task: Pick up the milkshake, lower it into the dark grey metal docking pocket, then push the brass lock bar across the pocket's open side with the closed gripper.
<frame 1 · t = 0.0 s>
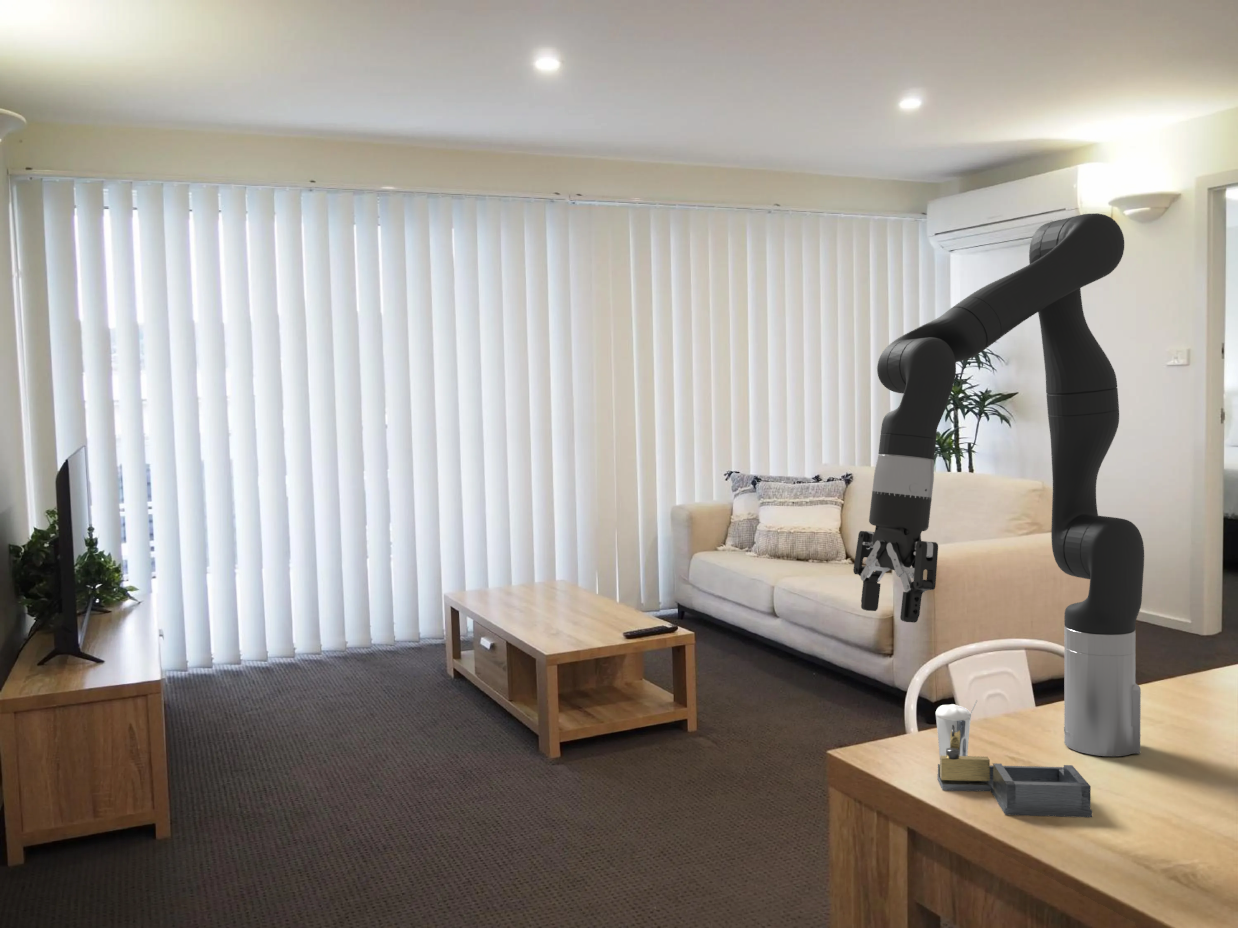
hand: (888, 615, 135), 22 cm above the table, tool pointing down, fingers open, 8 cm apart
dock: (1038, 801, 129), on the table
milkshake: (956, 773, 140), on the table
lock bar: (964, 764, 135), point 3 cm above the table, slide at 0.0 cm
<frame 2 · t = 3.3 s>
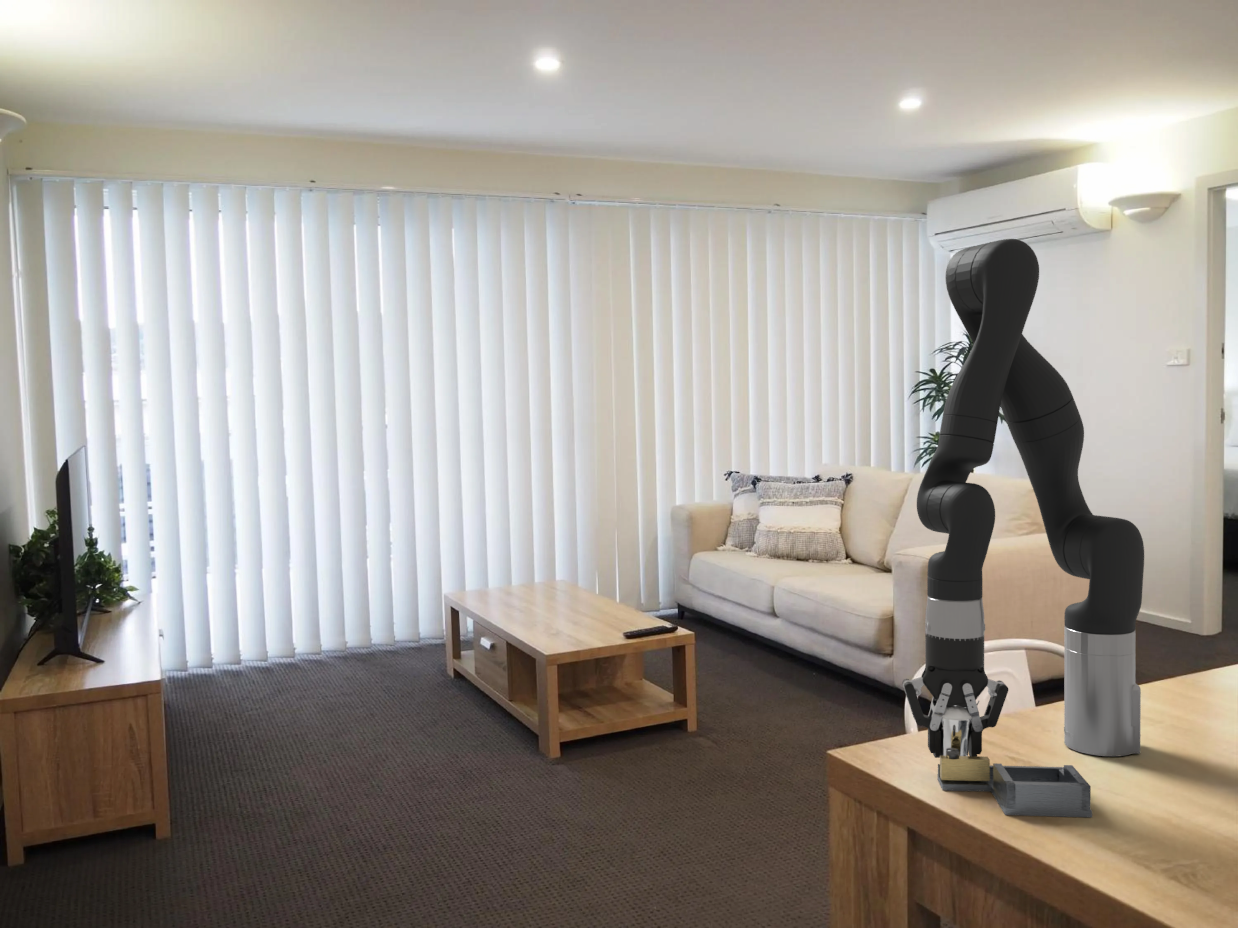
hand: (954, 755, 140), 2 cm above the table, tool pointing down, fingers closed on milkshake, 4 cm apart
milkshake: (956, 773, 140), on the table, touching gripper
everything else where it was.
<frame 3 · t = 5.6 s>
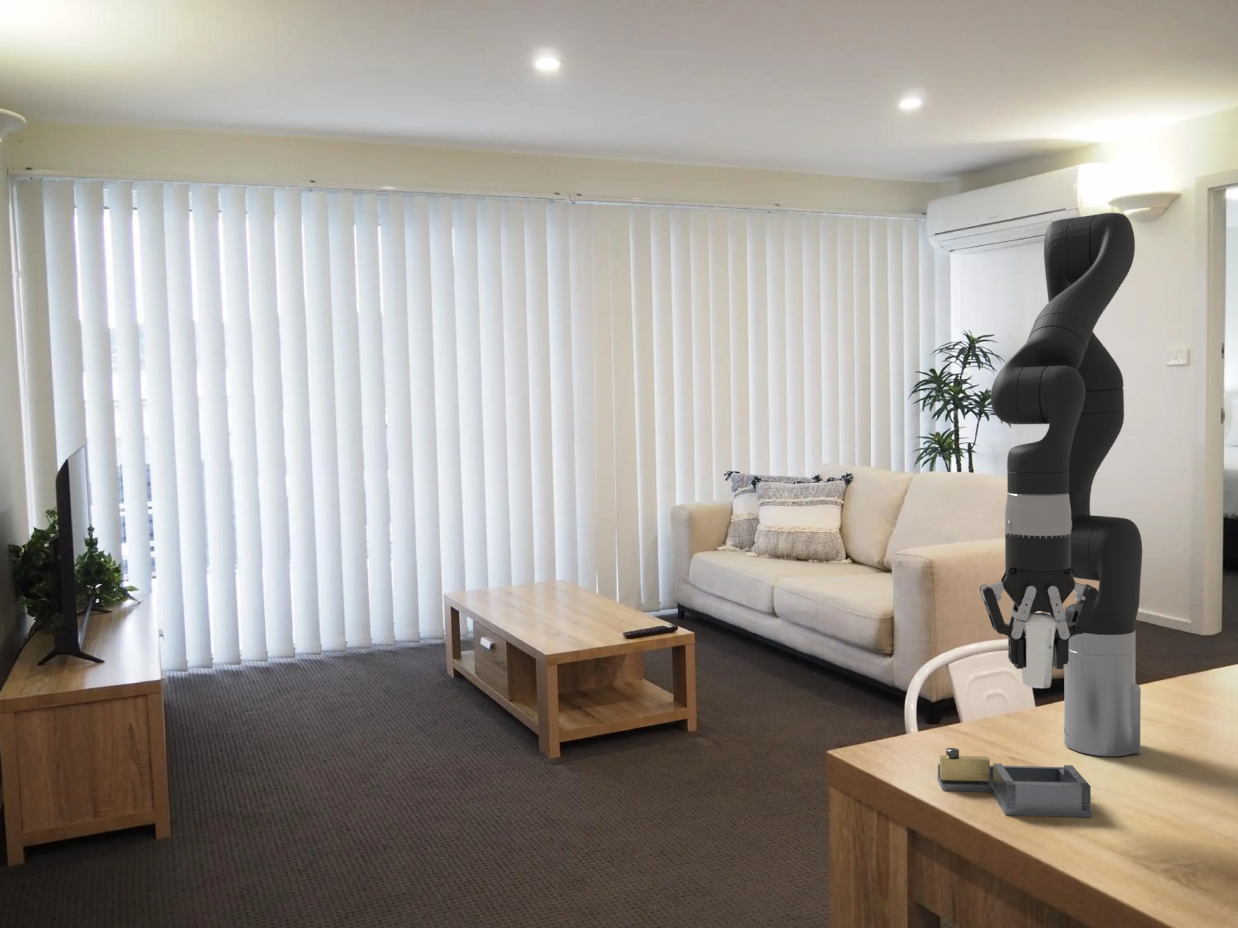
hand: (1037, 666, 129), 17 cm above the table, tool pointing down, fingers closed on milkshake, 4 cm apart
milkshake: (1040, 686, 129), point 14 cm above the table, touching gripper
everything else where it was.
when the fingers open (4 cm above the table, at t = 7.8 s): milkshake drops 1 cm, resting on dock.
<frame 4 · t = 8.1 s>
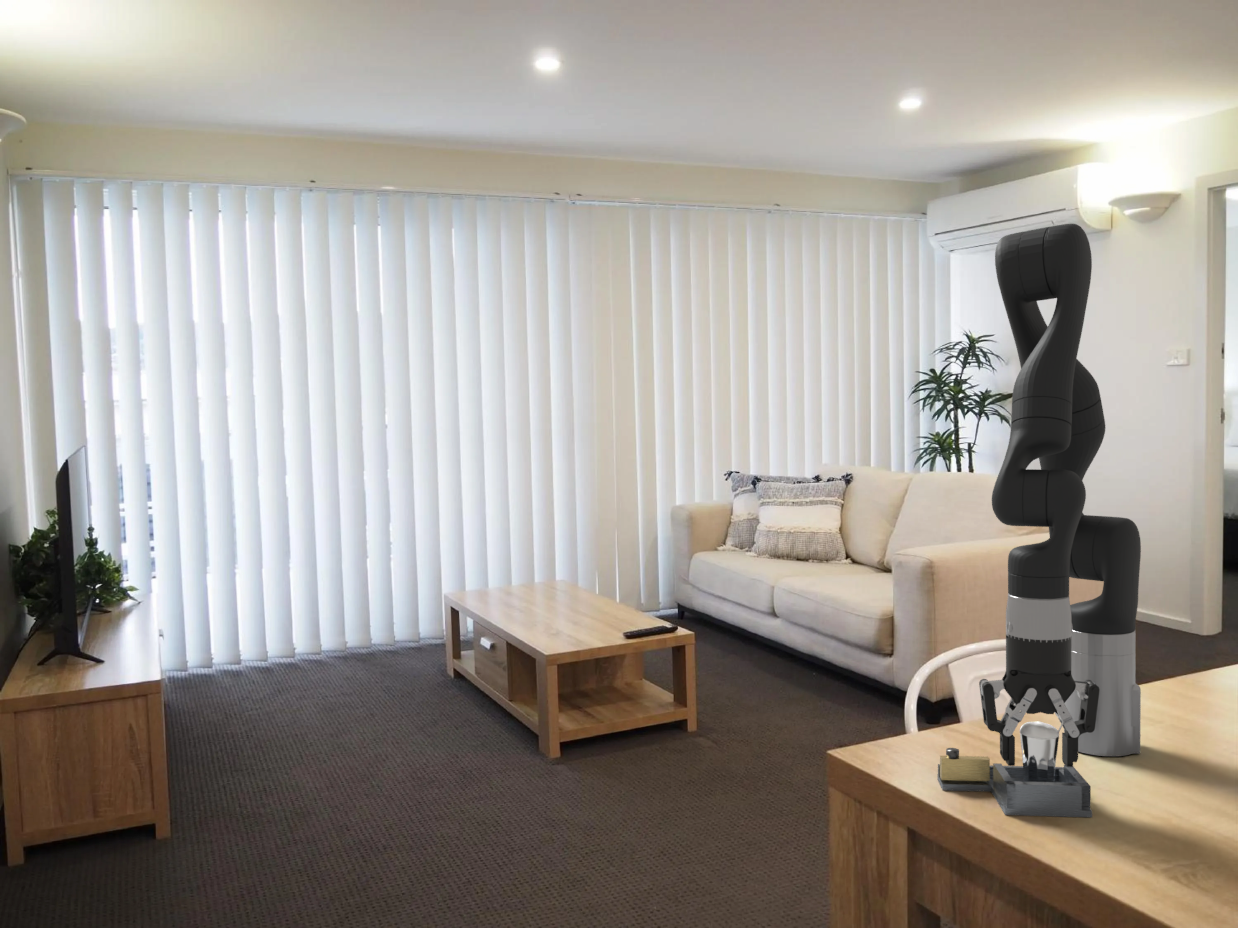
hand: (1038, 763, 129), 5 cm above the table, tool pointing down, fingers open, 6 cm apart
milkshake: (1042, 796, 129), point 1 cm above the table, touching dock
everything else where it was.
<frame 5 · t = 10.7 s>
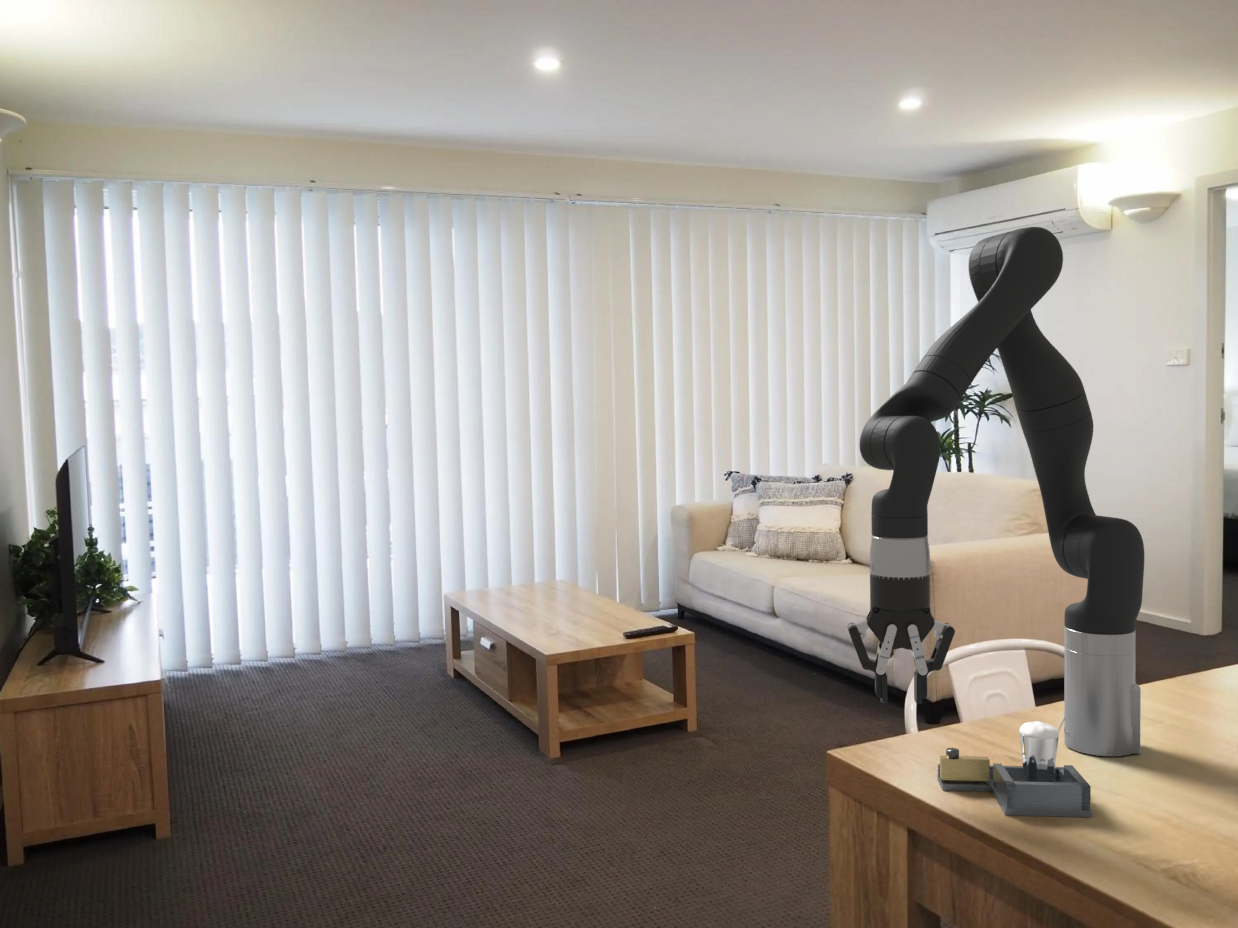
hand: (900, 700, 135), 11 cm above the table, tool pointing down, fingers open, 3 cm apart
nothing on the table moved.
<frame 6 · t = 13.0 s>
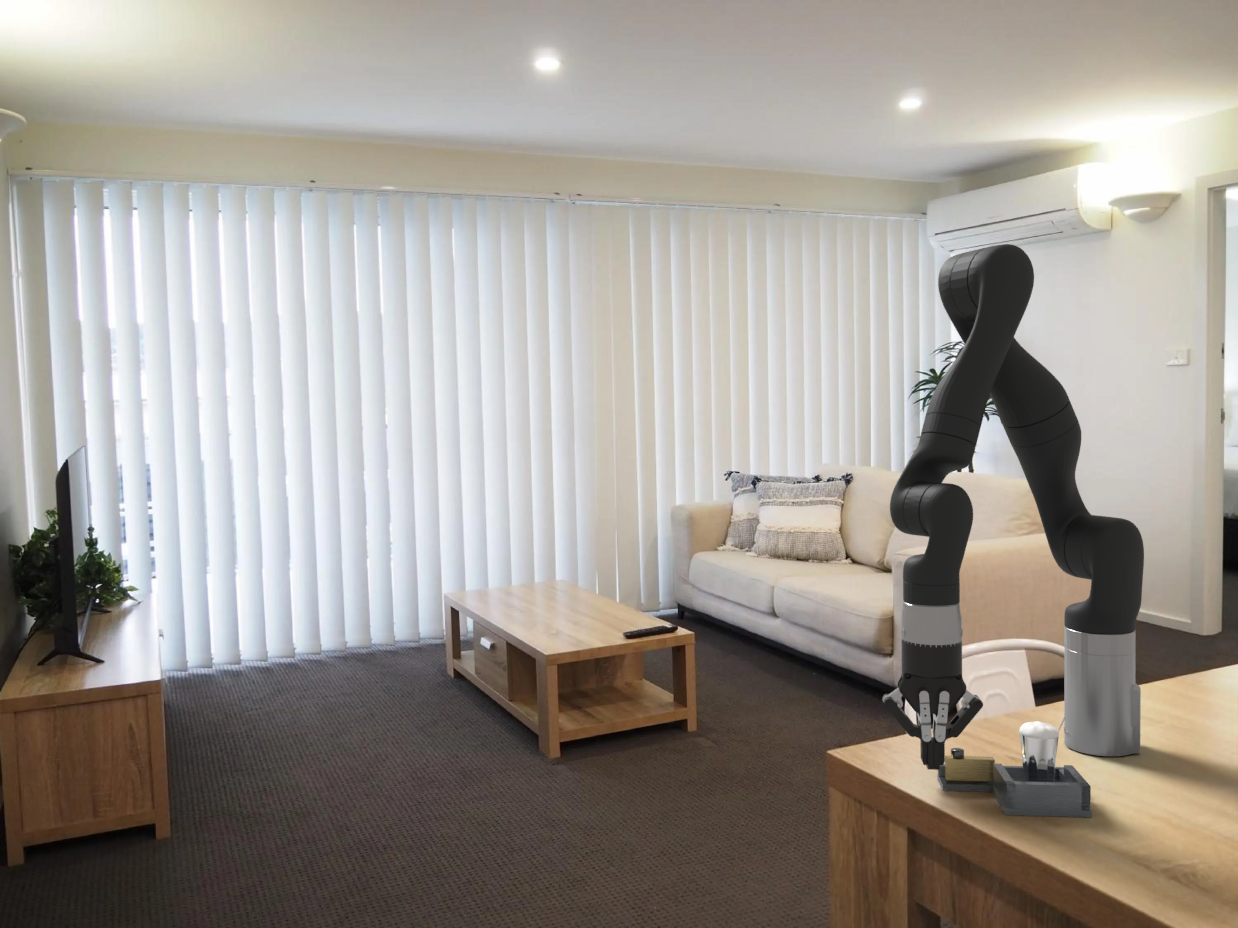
hand: (932, 767, 136), 2 cm above the table, tool pointing down, fingers closed
lock bar: (969, 764, 135), point 3 cm above the table, slide at 0.6 cm, touching gripper
everything else where it was.
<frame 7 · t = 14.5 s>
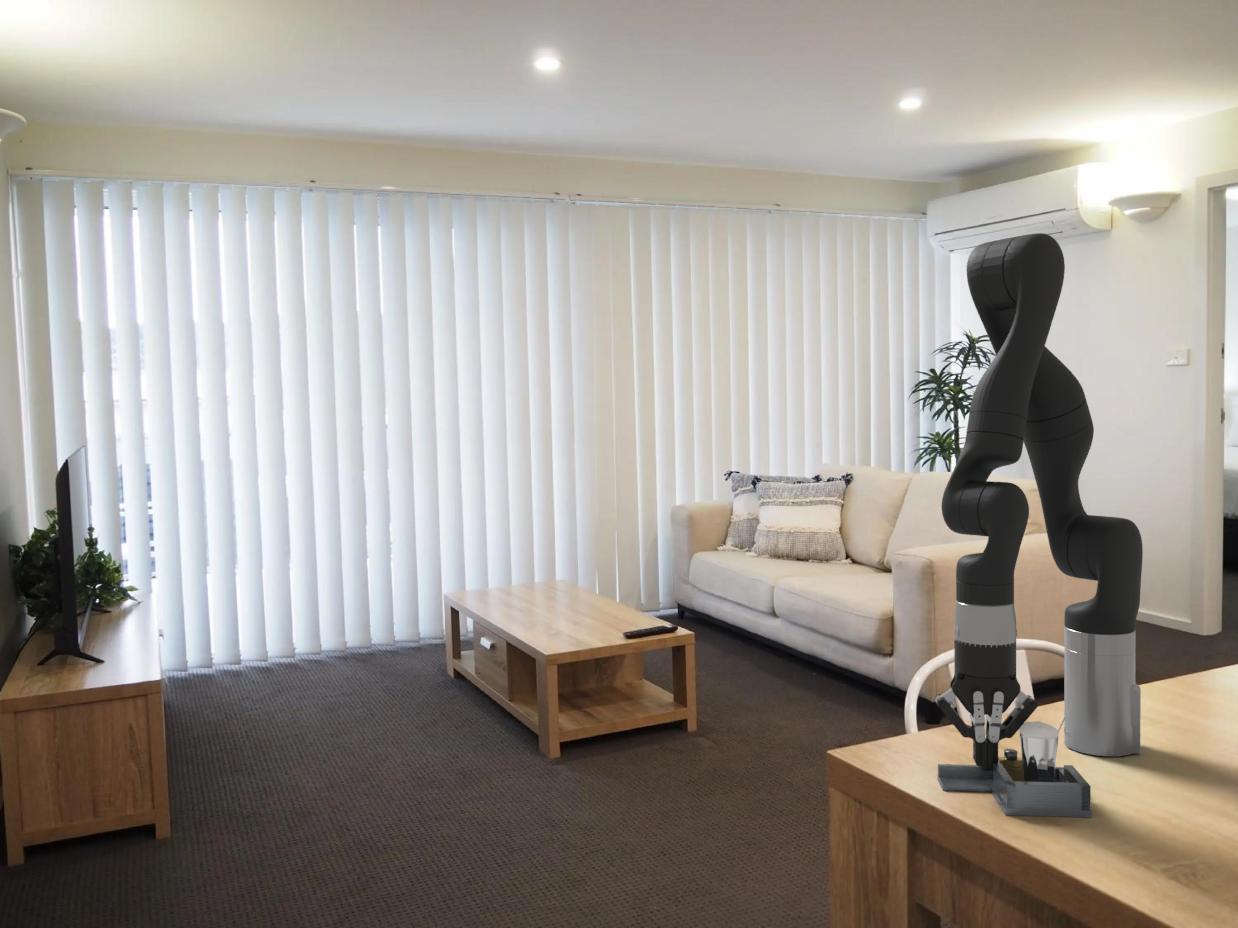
hand: (985, 768, 135), 2 cm above the table, tool pointing down, fingers closed
lock bar: (1022, 765, 134), point 3 cm above the table, slide at 7.2 cm, touching gripper
everything else where it was.
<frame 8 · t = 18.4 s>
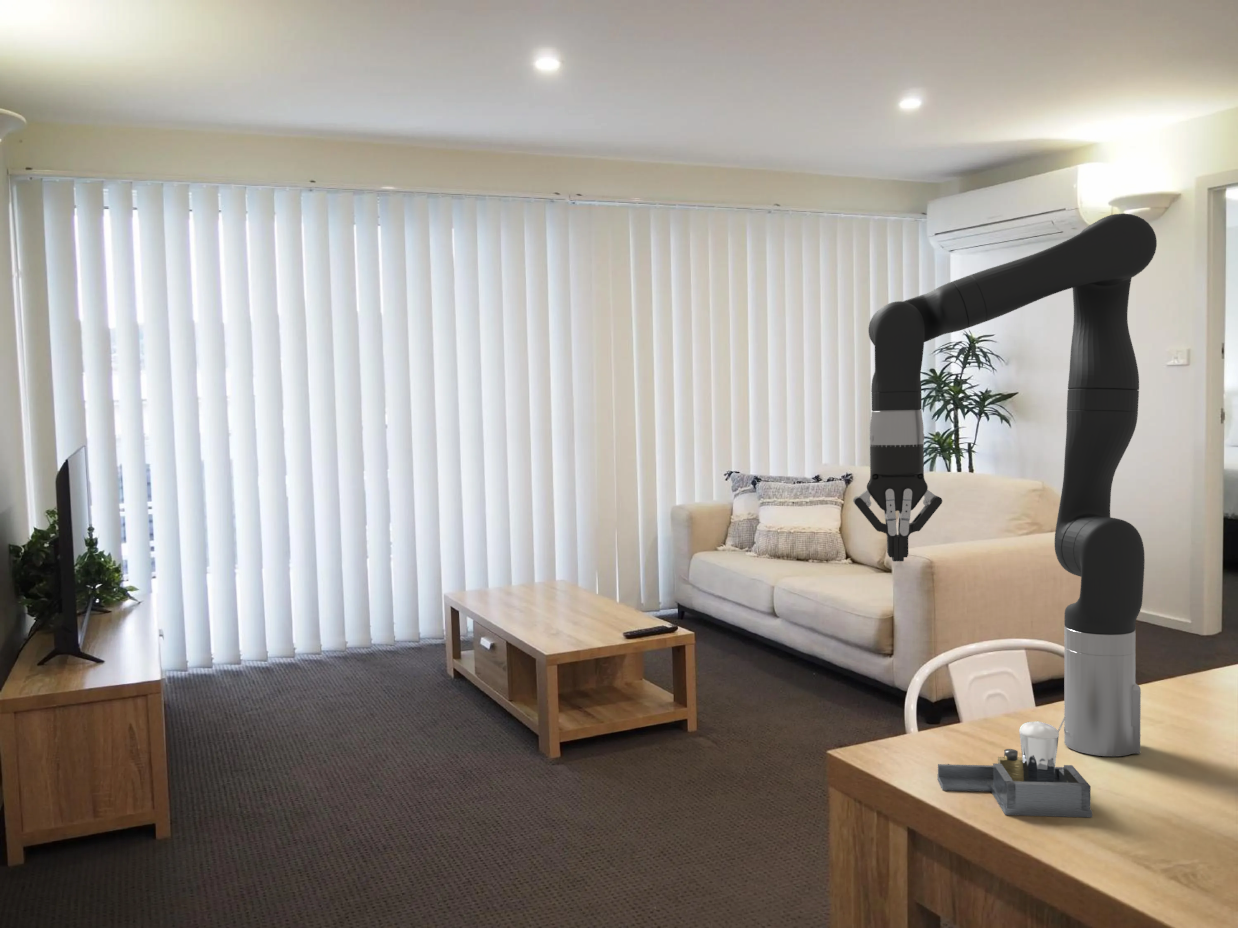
hand: (897, 560, 152), 27 cm above the table, tool pointing down, fingers closed
lock bar: (1023, 765, 134), point 3 cm above the table, slide at 7.3 cm
everything else where it was.
at the end: milkshake 0.5 cm off-centre on the dock, point 0.6 cm above the dock's base; lock bar slide at 7.3 cm; the gripper is holding nothing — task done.
